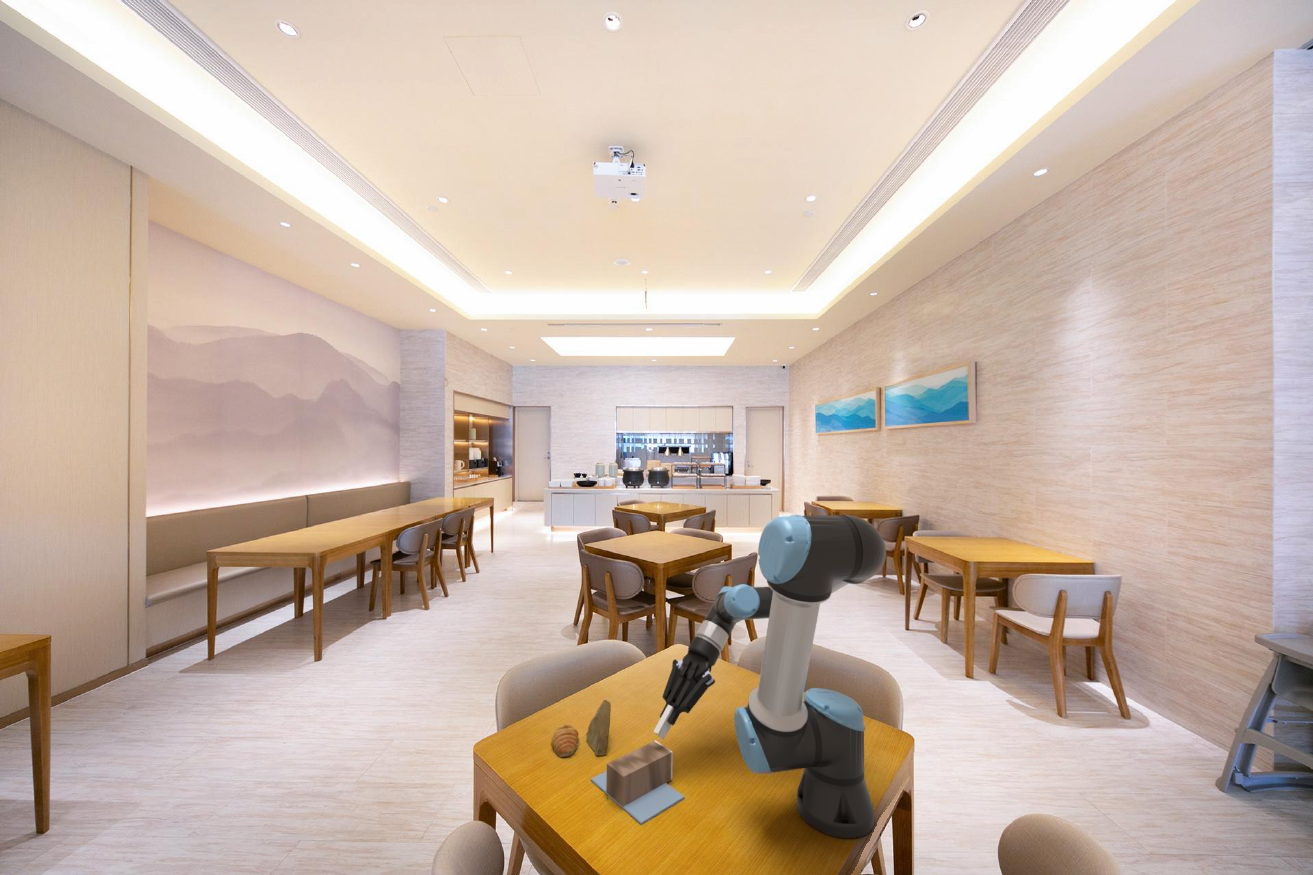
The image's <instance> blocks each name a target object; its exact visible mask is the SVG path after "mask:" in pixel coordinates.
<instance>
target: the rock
mask: <svg viewBox="0 0 1313 875" xmlns="http://www.w3.org/2000/svg"><path fill="white" fill-rule="evenodd" d="M611 708H612V704H611V702H610V701H608V700H607V699H603V701H602V703H601V704H600V705H599V706H598V708H597V710H596V712H595V715H594V716H593V718H592V719H591V720H590V723H589V725H588V727H587V731H586V733H585V734H586V735H585V736H586V742H587V743H588V745H589V747H590V748H591V749H592V751H594V754H595V755H596V756H606V755H607V749H608V745H609V735H610V726H611V711H612V709H611Z"/></svg>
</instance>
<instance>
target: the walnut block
mask: <svg viewBox="0 0 1313 875" xmlns="http://www.w3.org/2000/svg"><path fill="white" fill-rule="evenodd" d="M673 757H674V756H673V751H672V750H670V749H669V748H668V747H666V746H665V745H663V744H662V743H660V742H659V741H657V740H653V741H651V742H649V743H647V744H645V745H642V746H640V747H638V748H636V749H634V750H632V751H630V752H628V753H626V754H624V755H622V756H619V757H617V758H615V759H614V760H611V761H609V762H607V763H606V771H607V781H606V792H607V793H608V794H609V795H610V796H611V797H613V798H614V799H615V800H616V801H617V802H618V803H619V804H621V805H622V806H625V805H627V804H629V803H631V802H632V801H634V800H636V799H638V798H640V797H641V796H643V795H645V794H647V793H648V792H650V791H652V790H654V789H656V788H657V787H659V786H661V785H663V784H665V783H668V782H670V781H671V780H673V770H674V769H673V762H674V761H673V760H674V758H673Z"/></svg>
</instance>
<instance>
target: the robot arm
mask: <svg viewBox="0 0 1313 875" xmlns="http://www.w3.org/2000/svg"><path fill="white" fill-rule="evenodd" d="M758 541H759V542H758V549H757V550H758V551H757V554H758V556H759V558H758V564H759V566H758V567H759V569H760V573H761V574H762V576H763V578H764V579H765V580H766V583H767V586H754V587H753V586H751V585H748V584H743V583H742V584H738V585H734V586H733V587H732V586H723V587H722V588H721V589H720V591H719V592H718V594H716V596H715V599H714V601H713V603H712V605H711V606H710V609H709V611H708V612H707V613H706V616H705V617H704V620H703V621H702V623H701V624H700V626H699V628H698V629H697V631H696V633H695V636H694V637H693V638H692V641H691V642H690V644H689V645H688V649H687V654H686V655H685V656H683V658H682V659H680V660H677V659H673V661H672V665H671V671H670V672H669V673H670V674H669V677H668V679H667V683H666V685H665V688H664V691H663V694H662V697H661V698H662V699H663V700H664V701H665V706H664V707H663V709H662V711H661V713H659V717H660V718H659V720H658V722H657V724H656V726H655V728H654V730H653V733H654V734H656V735H657V736H658V737H659V738H660V739H662V740H665V738H666V736H667V735H668V733H669V731H670V729H671V727H672V726H674V725H675V724H676V722H677V720H678V719H679V716H680V715H681V714H682V713H686V714H689V713H690V712H691V711H692V710H693V708H694V707H695V705H697V703H698V701H700V699H701V697H702V696H703V695H704V694H705V692H707V690H708V689H709V688H710V687H711V686H713V685H714V684H716V680H715V678H714V677H713V676H712V673H711V672H712V667H714V666H715V665H716V663H717V661H718V659H719V658H720V654H721V651H723V649H724V647H725V645H726V644H727V641H728V639H729V637H730V635H731V633H732V632H733V629H734V628H735V626H736V624H737V623H739V622H741V621H747V620H758V619H759V620H760V619H761V620H763V619H768V622H767V628H766V635H765V641H764V649H763V653H762V654H763V656H762V660H761V667H760V673H759V674H760V675H759V680H758V686H757V687H755V688H753V690H751V691H750V694H749V696H748V701H747V706H744V705H743V706H740V707H737V708H736V709H735V711H734V718H733V719H734V729H735V734H736V740H737V744H738V748H739V751H740V753H741V757H742V759H743V761H744V763H745V765H746V767H747V768H748V769H749V771H751V772H752V773H755V774H769V775H770V774H772V773H779V772H786V771H787V772H788V771H791V770H792V771H794V770H801V769H804V770H803V773H802V775H801V777H800V780H799V784H798V786H797V789H796V790H797V791H796V807H797V811H798V814H799V815H800V816H801V817H802V819H803V820H804V821H805V822H806V823H807V824H808V825H809V826H811V827H813V828H814V829H815V830H817V831H819V832H821V833H824V834H825V835H828V836H832V837H835V838H840V839H841V838H842V839H857V838H856V837H858V838H862V837H864V836H866V835H868V834H869V833H870V832H872V830H873V829H874V827H875V808H874V805H873V802H872V799H871V795H870V791H869V789H868V786H867V782H866V778H865V731H866V727H865V721H864V720H865V719H864V712H863V709H862V707H861V706H860V704H859V703H858V702H857V701H856V700H855V699H853V698H851V697H849V696H848V695H846V694H844V693H841V692H838V691H835V690H832V689H827V688H821V687H812V688H809V689H807V690H806V691H805V686H806V682H807V678H808V677H807V676H808V673H809V672H808V671H809V667H810V662H811V661H810V660H811V656H812V655H811V654H812V650H813V644H814V638H815V633H816V627H817V623H818V618H819V612H820V607H821V604H823V603H825V602H826V601H828V600H829V599H830V598H831V595H832V594H833V593H834V592H837V591H838V590H840V589H841V588H844V587H846V586H848V585H859V584H862V583H864V582H866V581H867V580H869V579H871V578H873V577H874V576H876V575H877V574H878V573H879V572H880V571H881V570H882V569H883V567H884V564H885V561H886V557H887V547H886V543H885V540H884V538H883V536H882V534H881V532H879V530H878V529H877V528H876V527H875V526H874V525H873V524H872V523H870V522H869V521H867V520H866V519H864V518H861V517H859V516H855V515H850V514H839V515H835V514H834V515H833V514H832V515H801V514H791V515H789V516H788V515H787V516H786V515H785V516H778V517H777V516H776V517H774V518H773V519H772V520H770V521H769V522H767V524H766V525H765V527H764V528H763V529H762V533H761V534H760V538H759V540H758ZM804 692H805V693H804ZM803 699H804V700H803Z"/></svg>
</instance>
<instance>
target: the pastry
mask: <svg viewBox="0 0 1313 875" xmlns="http://www.w3.org/2000/svg"><path fill="white" fill-rule="evenodd" d="M579 741H580V738H579V732H578V730H577V729H576V728H575V727H574V726H573V725H571V724H563V725H561V726H559V727H558V728H557V729H555V732H554V733H553V736H552V738H551V743H552V744H551V745H552V747H553V750H554V752H555V754H556V755H557V756H558V757H559V758H562V757H569V756H572V755H573V754H574V753H575V751H576V749H577V748H578V745H579Z"/></svg>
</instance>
